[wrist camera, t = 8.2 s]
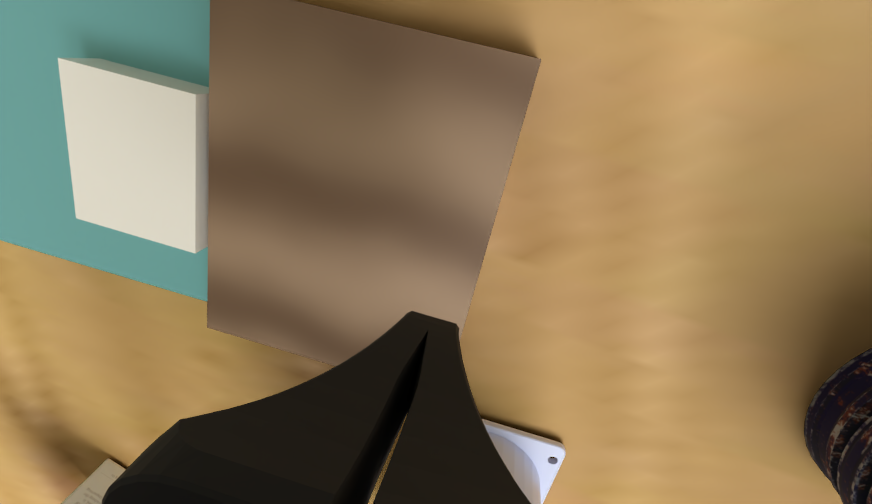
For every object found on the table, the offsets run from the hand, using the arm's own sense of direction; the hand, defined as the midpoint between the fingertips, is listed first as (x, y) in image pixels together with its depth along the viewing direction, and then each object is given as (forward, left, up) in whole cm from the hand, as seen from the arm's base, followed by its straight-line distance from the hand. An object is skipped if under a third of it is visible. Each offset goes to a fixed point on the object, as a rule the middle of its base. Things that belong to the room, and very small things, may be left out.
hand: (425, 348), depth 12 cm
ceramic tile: (0, +15, -9) cm, 17 cm away
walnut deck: (0, +5, -9) cm, 11 cm away
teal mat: (0, +18, -9) cm, 20 cm away
